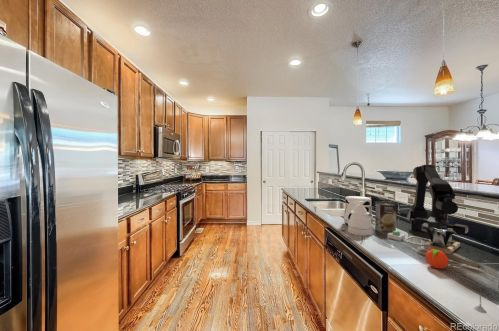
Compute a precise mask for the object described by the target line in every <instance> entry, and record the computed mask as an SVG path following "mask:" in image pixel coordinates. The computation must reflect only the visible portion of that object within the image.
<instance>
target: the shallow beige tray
mask: <svg viewBox="0 0 499 331" xmlns="http://www.w3.org/2000/svg"><path fill="white" fill-rule="evenodd" d="M428 241H429V240H428ZM428 241H426V242H427V243H426V242H424V243H425V244H424V243H423V244H424V246H423V248H424V249H428V250H432V249H437V250H440V251H442V252H443V253H445V254H446V255H447V254H448V255H450V254H452V253H453V252H455V251H456V250H457V249H458V248H460V247H461V242H458V241H454V240H453V241H452V245H450V244H447V245H446V246H445V248H440V247H435V246H433V242H431V241H429V242H428Z"/></svg>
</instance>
